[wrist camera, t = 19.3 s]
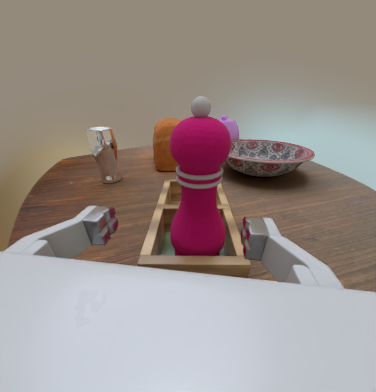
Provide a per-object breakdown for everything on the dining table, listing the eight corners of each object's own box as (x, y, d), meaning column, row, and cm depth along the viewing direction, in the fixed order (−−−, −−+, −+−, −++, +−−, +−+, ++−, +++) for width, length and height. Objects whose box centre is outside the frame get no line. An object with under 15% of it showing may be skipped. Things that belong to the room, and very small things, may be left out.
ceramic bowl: (204, 161, 69) (205, 141, 65) (270, 157, 72) (275, 138, 69) (231, 194, 43) (234, 164, 40) (330, 186, 47) (343, 158, 43)
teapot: (191, 145, 94) (191, 116, 87) (215, 141, 105) (217, 114, 98) (218, 152, 81) (221, 118, 74) (242, 146, 92) (247, 115, 85)
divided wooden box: (242, 298, 20) (251, 265, 17) (144, 297, 21) (136, 263, 18) (217, 202, 40) (219, 179, 37) (167, 202, 40) (165, 179, 37)
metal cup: (118, 184, 50) (106, 130, 42) (95, 184, 50) (79, 130, 42) (126, 175, 56) (117, 126, 48) (105, 175, 56) (93, 126, 49)
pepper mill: (231, 272, 22) (263, 94, 13) (178, 286, 20) (167, 94, 11) (210, 235, 28) (220, 97, 19) (167, 244, 27) (154, 97, 17)
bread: (155, 172, 58) (149, 122, 50) (156, 153, 80) (152, 116, 73) (194, 170, 59) (195, 121, 52) (184, 151, 82) (184, 116, 75)
